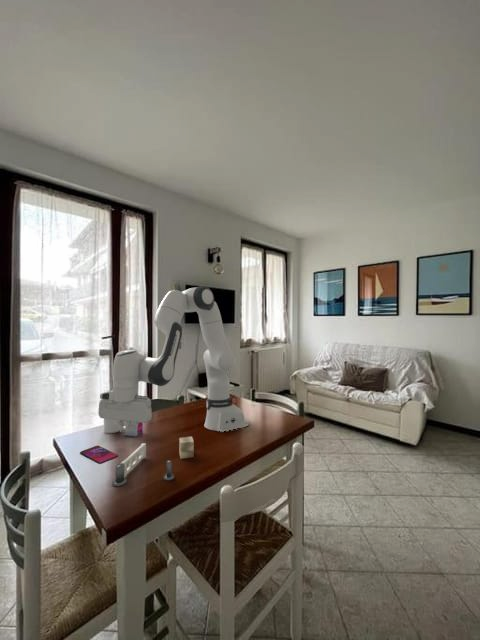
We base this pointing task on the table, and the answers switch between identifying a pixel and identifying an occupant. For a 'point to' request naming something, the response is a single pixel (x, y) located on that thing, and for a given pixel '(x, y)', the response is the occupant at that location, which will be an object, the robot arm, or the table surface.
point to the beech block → (186, 447)
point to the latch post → (169, 472)
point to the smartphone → (98, 454)
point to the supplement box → (134, 429)
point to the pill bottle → (111, 426)
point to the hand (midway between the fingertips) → (124, 431)
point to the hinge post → (119, 476)
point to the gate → (137, 459)
